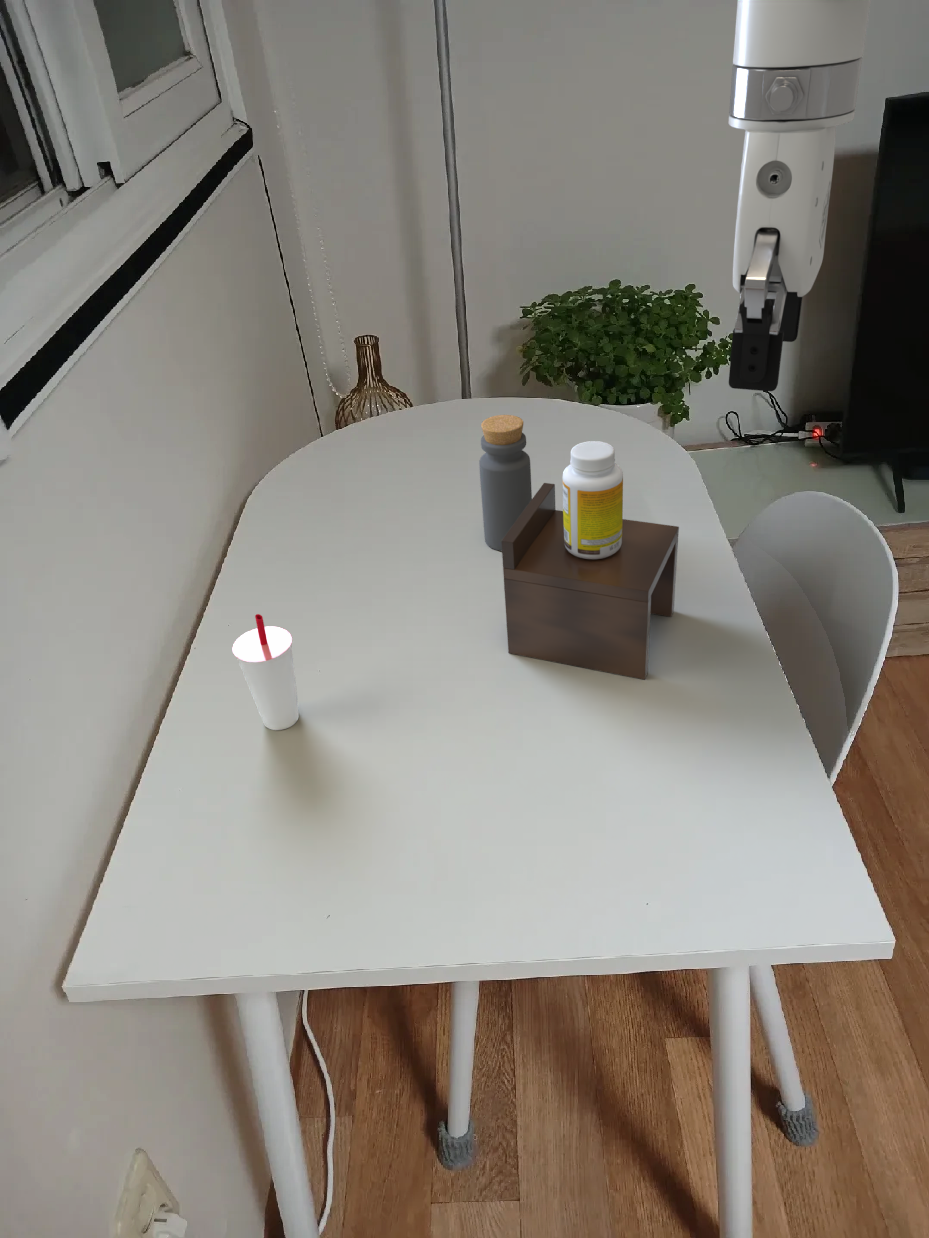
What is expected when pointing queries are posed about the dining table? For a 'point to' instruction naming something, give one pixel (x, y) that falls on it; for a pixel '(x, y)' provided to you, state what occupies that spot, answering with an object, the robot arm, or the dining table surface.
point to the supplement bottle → (592, 501)
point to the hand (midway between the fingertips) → (764, 362)
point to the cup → (269, 673)
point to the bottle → (503, 476)
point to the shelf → (585, 591)
